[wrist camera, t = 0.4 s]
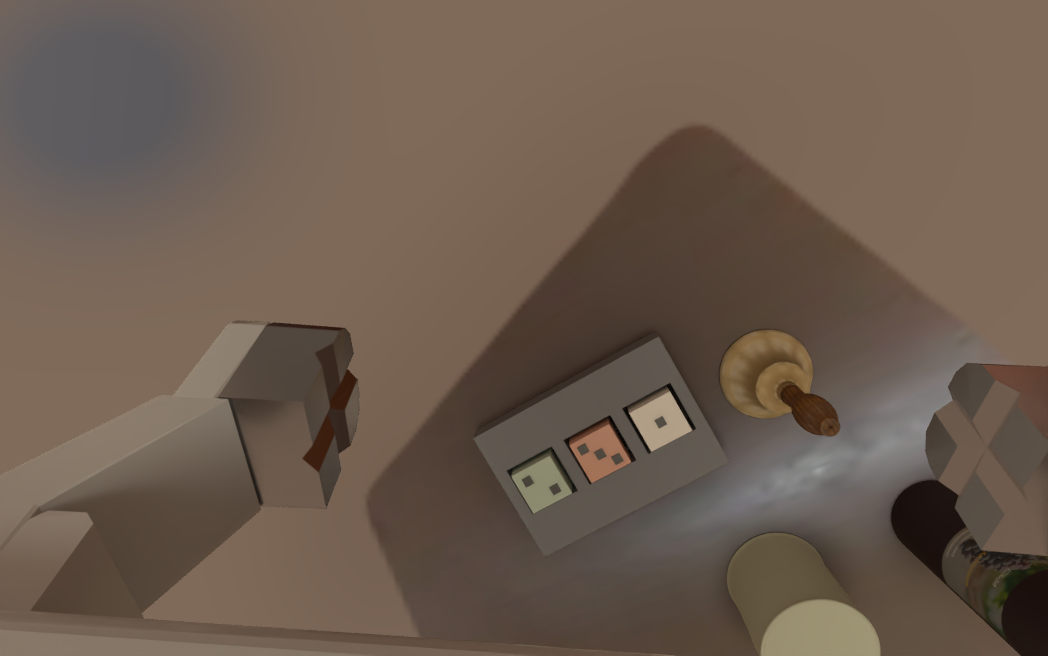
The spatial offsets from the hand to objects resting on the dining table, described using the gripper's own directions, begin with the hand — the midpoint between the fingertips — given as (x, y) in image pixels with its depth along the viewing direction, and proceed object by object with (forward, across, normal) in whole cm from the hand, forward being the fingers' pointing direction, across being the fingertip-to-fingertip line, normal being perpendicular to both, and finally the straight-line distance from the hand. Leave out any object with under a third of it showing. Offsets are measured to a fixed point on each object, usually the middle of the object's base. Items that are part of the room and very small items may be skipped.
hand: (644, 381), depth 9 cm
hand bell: (+41, +19, -31) cm, 55 cm away
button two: (+35, -1, -40) cm, 54 cm away
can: (+32, +22, -49) cm, 63 cm away
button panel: (+38, +4, -38) cm, 54 cm away
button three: (+37, +4, -37) cm, 52 cm away
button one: (+38, +9, -34) cm, 52 cm away
